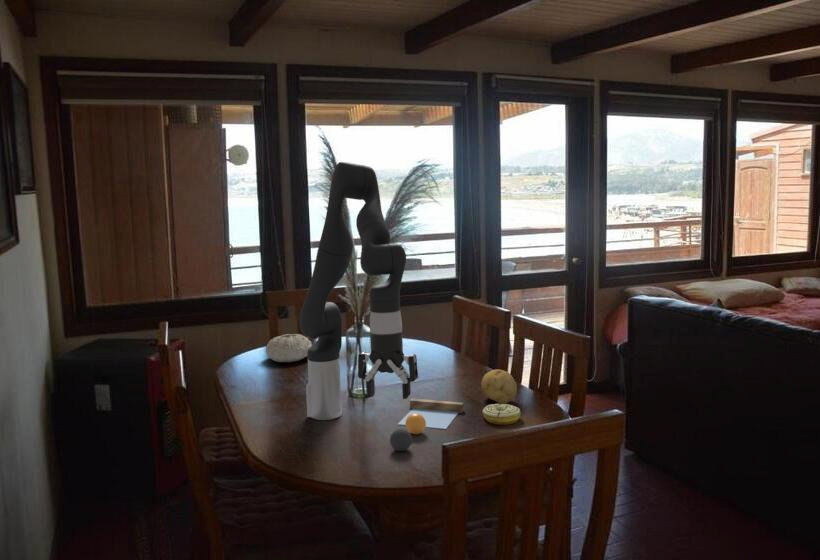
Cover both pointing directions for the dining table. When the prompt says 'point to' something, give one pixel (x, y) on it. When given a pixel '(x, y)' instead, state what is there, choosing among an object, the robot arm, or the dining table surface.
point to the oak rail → (437, 405)
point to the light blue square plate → (433, 418)
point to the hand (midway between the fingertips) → (388, 396)
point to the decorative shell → (288, 347)
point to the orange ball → (415, 423)
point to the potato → (499, 386)
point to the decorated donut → (501, 414)
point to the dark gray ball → (400, 439)
